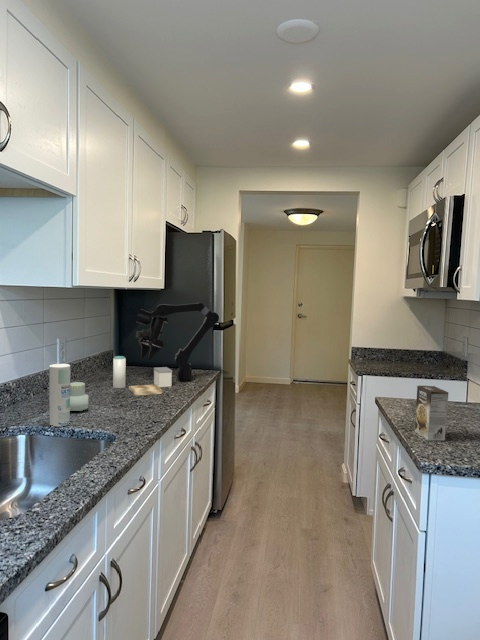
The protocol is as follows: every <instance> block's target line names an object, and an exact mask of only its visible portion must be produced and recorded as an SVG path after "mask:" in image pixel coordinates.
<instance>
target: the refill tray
mask: <svg viewBox="0 0 480 640" xmlns="http://www.w3.org/2000/svg"><path fill="white" fill-rule="evenodd" d="M128 390H129V391H130V392H131V394H132V395H134V397H135V396H147V395H149V396H150V395H158V394H159V395H161V394H163V389H162V388H161V387H158V386H157V385H156V384H145V385H144V384H143V385H142V384H141V385H130V386H128Z"/></svg>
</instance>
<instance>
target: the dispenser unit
mask: <svg viewBox="0 0 480 640" xmlns="http://www.w3.org/2000/svg"><path fill="white" fill-rule="evenodd" d="M172 376H173V370H172V369H171V368H169V367H167V366H162V367H153V385H156V386H158V387H159V388H166V387H172V379H173V377H172Z"/></svg>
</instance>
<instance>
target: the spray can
mask: <svg viewBox="0 0 480 640" xmlns="http://www.w3.org/2000/svg"><path fill="white" fill-rule="evenodd" d="M48 379H49V380H48V385H49V386H48V387H49V388H48V393H49V398H48V399H49V400H48V401H49V404H48V405H49V418H48V419H49V426H50V425H53V426H61V425H67V424H69V423H70V421H71V420H70V419H71V416H70V415H71V412H70V383H71V364H68V363H53V364H50V365H49V366H48ZM69 425H70V424H69Z"/></svg>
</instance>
